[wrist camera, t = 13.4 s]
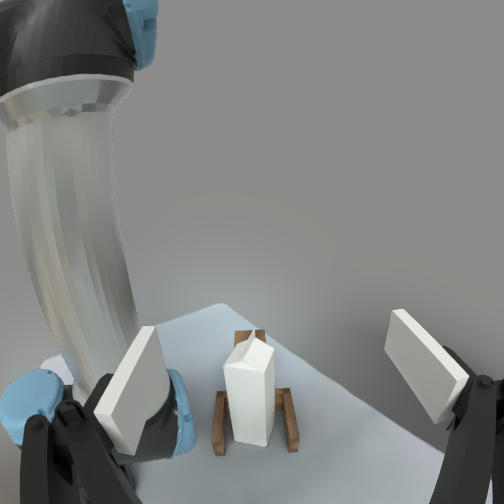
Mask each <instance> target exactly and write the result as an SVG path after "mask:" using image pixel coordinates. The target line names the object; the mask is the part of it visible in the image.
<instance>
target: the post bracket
mask: <svg viewBox="0 0 504 504" xmlns="http://www.w3.org/2000/svg"><path fill="white" fill-rule="evenodd" d="M252 332H253V330H247V331H235V342H234V348H235V347H236V345H237V344H238V343H240V342H243V341H246V340H248V339H249V337H250V335H251V333H252ZM255 337H256V338H258V339H259V340H261V341H263V342H264V343H266V338H265V330H255ZM279 410H282V411H283V418H284V424H285V431H286V437H287V444H288V451H289V453H290V452H297V451H298V444H299V432H298V427H297V422H296V417H295V412H294V407H293V402H292V397H291V392H290V388H283V389H275V411H279ZM227 413H230V410H229V403H228V397H227V391H217V396H216V405H215V414H214V424H213V433H212V444H213V447H214V451H215V454H216V456H225V439H226V421H227Z"/></svg>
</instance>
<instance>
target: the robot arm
mask: <svg viewBox="0 0 504 504" xmlns="http://www.w3.org/2000/svg"><path fill="white" fill-rule="evenodd" d="M157 13H158V0H0V126H1V127H2V128H3V129H4V131H5V133H6V137H7V159H8V172H9V181H10V189H11V196H12V203H13V209H14V215H15V220H16V225H17V230H18V234H19V239H20V243H21V247H22V251H23V255H24V258H25V262H26V265H27V268H28V272H29V275H30V278H31V281H32V284H33V287H34V290H35V293H36V296H37V299H38V301H39V304H40V306H41V309H42V312H43V314H44V317H45V319H46V322H47V324H48V326H49V329H50V331H51V333H52V336H53V338H54V340H55V342H56V344H57V346H58V348H59V350H60V352H61V354H62V356H63V358H64V360H65V362H66V364H67V366H68V368H69V370H70V372H71V373H72V375H73V377H74V382H73V385H64V383H63V381H62V379H61V378H60V377H58V375H57V374H56V373H53V372H52V371H50V370H46V369H39V370H34V371H31V372H28V373H26V374H24V375H22V376H20V377H19V378H17V379H16V380H15V381H14V382H12V383H11V384H10V385H9V386H8V388H7V389H6V390H5V392H4V393H3V395H2V398H1V400H0V420H1V422H2V424H3V426H4V428H5V429H6V430H7V432H8V433H9V435H10V437H11V439H12V440H13V442H14V443H15V444H16V445H17V446H18V447H19V448H20V449H21V450H22V452H21V467H20V504H142V502H141V501H140V499H139V498H138V496H137V495H136V493H135V491H134V490H135V486H134V480H133V477H132V475H131V473H130V471H129V470H128V468H127V467H126V466H125V464H133V463H140V462H147V461H153V460H159V459H164V458H166V459H172V458H174V457H175V456H178V455H181V454H185V453H188V452H190V451H191V450H192V449H193V448H194V446H195V443H196V434H195V427H194V422H193V419H192V417H191V408H190V404H189V400H188V397H187V393H186V390H185V387H184V384H183V381H182V379H181V377H180V375H179V373H178V372H177V371H176V370H173V369H166V368H165V363H164V359H163V355H162V351H161V347H160V343H159V339H158V335H157V330H156V326H143V327H142V328H140V324H139V320H138V316H137V312H136V307H135V304H134V299H133V294H132V290H131V285H130V281H129V275H128V270H127V265H126V259H125V254H124V248H123V242H122V235H121V228H120V221H119V213H118V204H117V195H116V184H115V172H114V155H113V114H114V110H115V109H116V107H117V106H118V105H119V104H120V103H121V102H122V101H123V100H124V99H125V98H126V97H127V96H128V95H129V93H131V91H132V90H133V81H134V70H136V71H138V70H142V69H143V68H145V67H148V66H150V65H151V64H152V62H153V59H154V55H155V48H156V39H157V23H156V17H157ZM384 350H385V352H386V353H387V354H388V356H389V357H390V358H391V360H392V361H393V363H394V364H395V366H396V367H397V368H398V370H399V371H400V373H401V374H402V376H403V377H404V379H405V380H406V381H407V383H408V384H409V386H410V387H411V389H412V390H413V392H414V393H415V395H416V396H417V398H418V399H419V401H420V402H421V403H422V405H423V407H424V408H425V410H426V411H427V412H428V414H429V416H430V417H431V419H432V420H433V422H434V423H435V424H436V423H439V422H441V421H444V420H446V419H447V418H448V416H449V415H450V413H451V411H453V412H454V414H455V416H454V417H453V419H452V421H451V422H450V424H449V426H448V427H447V429H446V430H449V428H450V427H451V430H450V435H449V440H448V444H447V448H446V452H445V456H444V460H443V463H442V467H441V470H440V474H439V477H438V480H437V483H436V486H435V489H434V492H433V495H432V497H431V500H430V503H429V504H485V502H486V498H487V493H488V489H489V483H490V478H491V472H492V491H493V504H504V378H503V380H498V381H493V379H492V378H490V377H489V376H486V375H479V376H477V375H476V374H475V373H474V372H473V371H472V370H471V369H470V368H469V367H468V366H467V365H466V364H465V363H464V362H463V361H462V360H461V359H460V358H459V357H458V356H457V354H456V353H454V351H453V350H451V349H449V348H448V347H446V346H440V345H439V344H438V343H437V342H436V341H435V340H434V339H433V338H432V337H431V336H430V335H429V334H428V333H427V332H426V331H425V330H424V329H423V328H422V327H421V326H420V325H419V324H418V323H417V322H416V321H415V320H414V319H413V318H412V317H411V316H410V315H409V314H408V313H407V312H406V311H405V310H404V309H399V310H393V311H392V314H391V319H390V325H389V330H388V335H387V339H386V344H385V349H384Z"/></svg>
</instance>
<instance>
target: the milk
mask: <svg viewBox="0 0 504 504" xmlns="http://www.w3.org/2000/svg"><path fill="white" fill-rule="evenodd" d="M223 369H224V376H225V383H226V390H227V397H228V403H229V410H230V416H231V422H232V428H233V434H234V440H235V441H238V442H243V443H247V444H252V445H257V446H263V447H267V444H268V441H269V439H270V436H271V433H272V430H273V427H274V421H275V360H274V348H273V347H271V346H269V345H268V344H266V343H264V342H263V341H261V340H259V339H258V338H256V337H255V330H253V332H252V333H251V335H250V337H249V339H248V340H246V341H243V342H240V343H238V344H237V345H236V347H235V348H234V350H233V351H232V353H231V354H230V356H229V358H228V359H227V361H226V362H225V364H224V365H223Z"/></svg>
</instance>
